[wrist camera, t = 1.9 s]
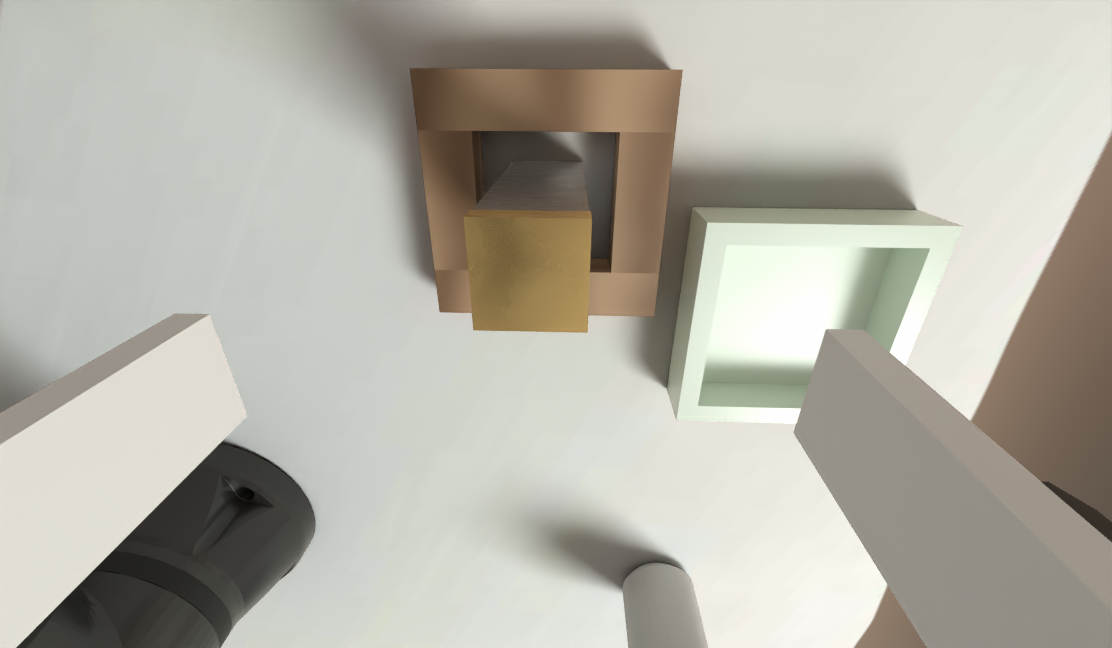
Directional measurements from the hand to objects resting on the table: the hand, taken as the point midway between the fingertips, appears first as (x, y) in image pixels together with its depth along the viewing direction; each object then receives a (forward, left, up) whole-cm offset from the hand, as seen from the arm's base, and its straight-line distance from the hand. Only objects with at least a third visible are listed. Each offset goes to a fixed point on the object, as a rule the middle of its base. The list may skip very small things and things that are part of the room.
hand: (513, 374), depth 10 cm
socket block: (0, 0, -19) cm, 19 cm away
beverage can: (+10, -35, -19) cm, 41 cm away
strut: (0, 0, -19) cm, 19 cm away
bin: (+15, -7, -19) cm, 25 cm away
